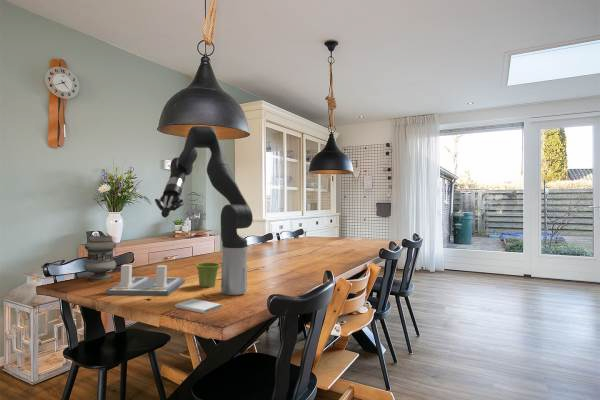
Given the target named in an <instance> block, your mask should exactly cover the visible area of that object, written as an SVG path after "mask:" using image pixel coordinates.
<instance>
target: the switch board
mask: <svg viewBox="0 0 600 400" xmlns="http://www.w3.org/2000/svg"><path fill="white" fill-rule="evenodd" d="M132 282H133V284H132V285H130V286H128V287H119V285H120V284H121V282H120V283H119V284H117V285H115V286H111V287H110V288H108V289H106V290H105V295H112V296H113V295H114V296H117V295H118V296H119V295H122V296H169V295H171V294H172V293H173V292H174V291H176V290H177V289H179V288H180V287H181V286H183V285H184V284H185V283H186V278H181V277H169V276H168V277H167V279H166V283H167V286H165V287H164V288H155V285H156V277H155V278H152V277H151V278H149V277H148V276H132Z"/></svg>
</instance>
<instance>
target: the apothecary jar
mask: <svg viewBox="0 0 600 400" xmlns="http://www.w3.org/2000/svg"><path fill="white" fill-rule="evenodd" d="M116 247H117V243H116V242H115V241H114V240H113V237H112V235H96V236H94V235H93V236H90V237H89V240H88V241H87V242H85V244H84V249H85V250H86V251H87V260H86V262H85V263H84V265H83V266H84V267H83V268H84V270H85V271H86V272H89V273H92V274H93V275H90V276H88V277H86V281H91V282H99V281H101V282H102V281H109V280H111V279H113V277H114V276H113V275H111V274H108V272H110V271H112V270H114V269H115V268H116V266H117V262H116V260H114V250H115V248H116Z"/></svg>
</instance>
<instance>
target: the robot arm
mask: <svg viewBox="0 0 600 400" xmlns="http://www.w3.org/2000/svg"><path fill="white" fill-rule="evenodd" d="M197 149H209V150H210V157H209V161H208V162H207V165H206V173H207V176H208V179H209V181H210V183H211V185H212V187H213V188H214V189H215V190H216V191H217V192H218V193H220V195H221V196H223V197H224V198H225V199H226V200H227V201H228V203H229V204H225V205H224V206H223V207H222V209H221V211H220V238H221V240H220V241H221V245H222V247H221V278H220V280H221V282H220V283H221V285H220V293H221V294H223V295H227V296H238V295H245V294H246V293H247V289H248V288H247V286H248V283H247V282H248V266H247V265H248V264H247V261H248V259H247V258H248V256H247V255H248V240H247V239H246V238H244V237H241V236H240V235H239V233H238V229H241V230H242V229H248V228H249V227H251V225H252V224H253V212H252V209H251V207H250V206H249V203H248V202H247V200H246V199H245V197H244V195H243V193H242V192H241V190H240V187H239V185H238V184H237V182H236V179H235V177H234V175H233V171H232V170H231V168H230V166H229V164H228V162H227V159H226V157H225V155H224V153H223V149H222V147H221V143H220V140H219V138H218V135H217V132H216V130H215V128H214V127H212V126H208V125H206V126H204V125H203V126H202V125H199V126H198V125H197V126H196V125H195V126H192V127H190V129H189V130H188V133H187V136H186V140H185V144H184V147H183V150H182V151H181V153H180V154H179V156H178V157H174V158H172V160H171V162H170V165H169V167H170V175H169V178H168V181H167V182H166V185H165V188H164V190H163V192H162V195H161V196H160V198H155V199H154V202H155V205H156V206H157V207H158V209H159V210H160V211H161V213H160V214H161V217H162V218H167V217H169V216H170V213H171V212H172V211H173V212H174V211H176V210H177V209H179V208H181V207H182V206H183V205H184V199H182V198H181V196H182V192H183V188H184V184H185V181H186V179H187V178H186V176H190V175H191V173H192V172H193V168H194V166H193V165H194V163H195V162H196V160H197V157H198V151H197ZM162 204H163V205H162Z"/></svg>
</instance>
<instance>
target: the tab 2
mask: <svg viewBox="0 0 600 400" xmlns="http://www.w3.org/2000/svg"><path fill="white" fill-rule="evenodd" d="M167 268H168V265H163V264H162V265H157V266H156V269H155V270H156V271H155V272H156V274H155V279H156V285H155V288H164V287H165V286H167V283H166V279H167V274H168V273H167V272H168V271H167V270H168V269H167Z"/></svg>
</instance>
